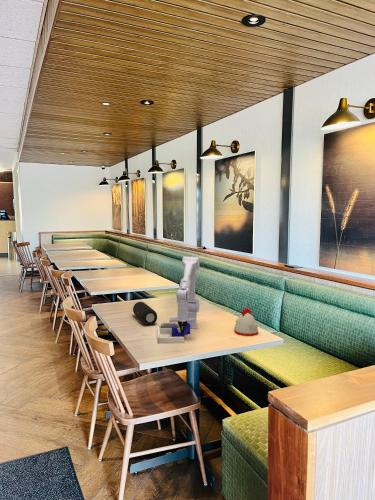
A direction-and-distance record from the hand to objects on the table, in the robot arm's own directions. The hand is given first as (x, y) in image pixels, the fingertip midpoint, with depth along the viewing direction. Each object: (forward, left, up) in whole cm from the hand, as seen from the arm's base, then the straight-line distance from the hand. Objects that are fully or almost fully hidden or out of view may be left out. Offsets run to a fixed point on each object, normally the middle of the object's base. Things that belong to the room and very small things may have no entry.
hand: (182, 334), depth 202 cm
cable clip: (-5, 0, -3) cm, 6 cm away
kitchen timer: (-9, +39, -3) cm, 40 cm away
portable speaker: (-35, -22, -3) cm, 41 cm away
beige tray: (-4, -7, -2) cm, 8 cm away
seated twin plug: (-11, -7, -2) cm, 13 cm away
